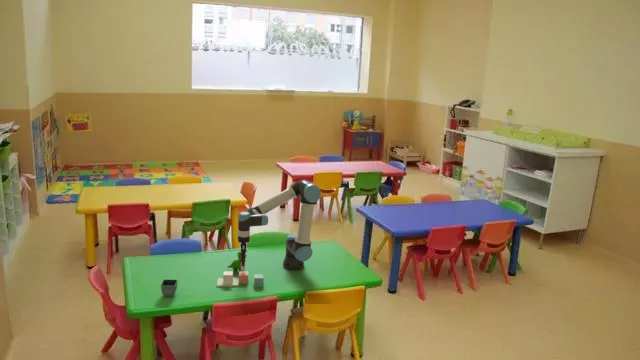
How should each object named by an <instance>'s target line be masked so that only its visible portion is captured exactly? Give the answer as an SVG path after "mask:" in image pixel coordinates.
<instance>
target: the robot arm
mask: <svg viewBox="0 0 640 360" xmlns="http://www.w3.org/2000/svg"><path fill="white" fill-rule="evenodd" d="M321 196H322V191H321V189H320V187H319V186H318V185H317V184H316V183H313V182H311V181H310V180H308V179H301V180H298V181H296V182H294V183H292V184H290V185H289V186H288V187H287V188H286V189H285V190H283V191H281V192H279V193H277V194H276V195H273V196H272V197H270V198H269V199H267V200H265V201H263V202H262V203H260V204H257V205H256V206H254V207H253V206H251V207H248V208H247V209H246V211H240V212H238V217H237V218H238V220H237V221H238V222H237V228H238V229H237V231H236V232H237V235H238V236H237V242H238V243H240V251H241V260H240V261H241V271H246V258H247V257H246V255H247V254H246V253H247V252H248V251H247V246H248V244H247V243H249V242H250V233H251V227H263V226H267V225H268V224H269V217H268V213H269V212H271V211H273V210H275V209H277V208H278V207H280V206H282V205H284V204H285V203H287V202H289V201H291V200H293V199H297V198H299V203H300V204H301V207H300V214H299V215H300V216H299V221H298V228H297V229H298V230H297V233H296V234H295V233H293V234H289V235H287V236H286V238H285V257H284V259H283V262H282V267H283V268H284V269H287V270H290V271H297V270H301V269H303V268H304V266H305V262H307V261H308V260H310V259H311V258H312V256H313V249H312V247H311V246H312V240H311V231H312V224H313V216H314V211H315V210H314V209H315V206H316V205H317V204H318V201H320V199H321ZM245 257H246V258H245Z"/></svg>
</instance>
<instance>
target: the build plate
mask: <svg viewBox="0 0 640 360" xmlns="http://www.w3.org/2000/svg"><path fill="white" fill-rule="evenodd" d="M239 286H240V284H239V277H234V272H233V270H231V271H223V274H222V277H218V278H217V281H216V287H217V288H221V287H222V288H223V287H224V288H227V287H230V288H232V287H236V288H237V287H239Z"/></svg>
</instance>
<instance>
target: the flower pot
mask: <svg viewBox="0 0 640 360" xmlns="http://www.w3.org/2000/svg"><path fill="white" fill-rule="evenodd" d="M178 281H179V280H178V279H163V280H162V282H161V284H160V290H161V293H162V296H163V297H164V298H174V297H175V295H176V291H177V288H178Z"/></svg>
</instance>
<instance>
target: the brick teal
mask: <svg viewBox="0 0 640 360" xmlns="http://www.w3.org/2000/svg"><path fill="white" fill-rule="evenodd" d="M253 275H254V276H253V279H254V280H253V285H254V287H255V288H257V287H259V288H260V287H261V288H263V287H264V281H265V280H264V279H265V278H264V274H262V273H260V274H259V273H258V274H257V273H256V274H253Z"/></svg>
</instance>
